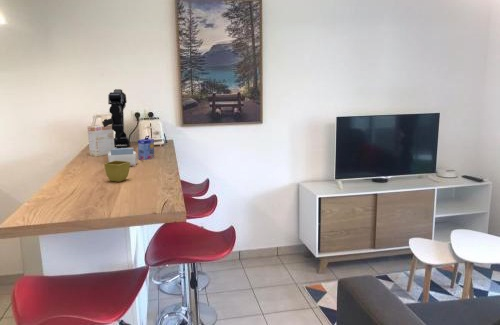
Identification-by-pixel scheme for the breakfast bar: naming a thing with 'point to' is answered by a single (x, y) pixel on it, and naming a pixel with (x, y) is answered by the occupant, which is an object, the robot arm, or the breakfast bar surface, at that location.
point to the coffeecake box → (100, 140)
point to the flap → (121, 151)
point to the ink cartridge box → (146, 148)
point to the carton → (123, 158)
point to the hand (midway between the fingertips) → (118, 140)
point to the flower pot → (117, 170)
